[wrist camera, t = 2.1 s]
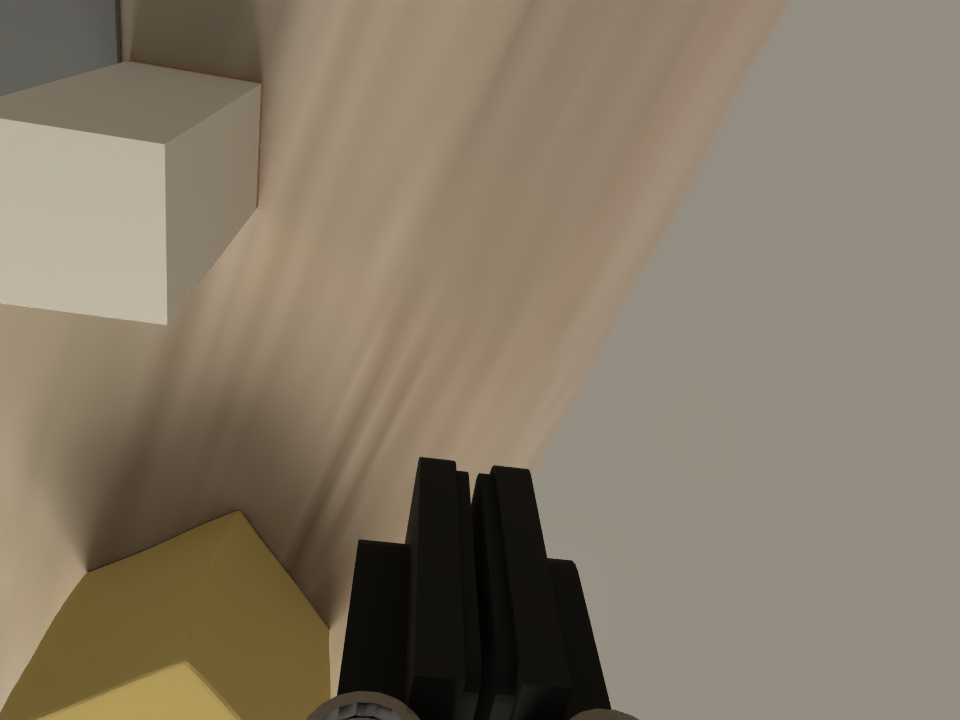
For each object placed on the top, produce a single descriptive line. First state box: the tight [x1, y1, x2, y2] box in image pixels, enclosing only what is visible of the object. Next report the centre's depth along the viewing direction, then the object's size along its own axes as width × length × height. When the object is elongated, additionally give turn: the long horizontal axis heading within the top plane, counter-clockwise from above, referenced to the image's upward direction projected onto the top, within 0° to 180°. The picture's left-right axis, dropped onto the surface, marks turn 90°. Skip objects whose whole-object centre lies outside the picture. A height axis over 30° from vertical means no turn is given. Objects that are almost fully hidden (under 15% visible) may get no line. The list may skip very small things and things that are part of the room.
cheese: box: [0, 511, 330, 720], centre depth 37 cm, size 10×11×10 cm
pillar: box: [0, 60, 263, 325], centre depth 25 cm, size 5×5×12 cm
